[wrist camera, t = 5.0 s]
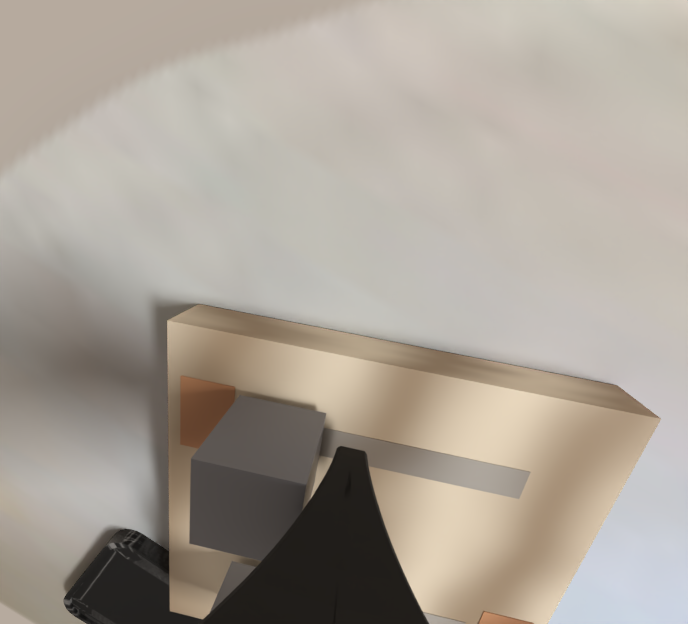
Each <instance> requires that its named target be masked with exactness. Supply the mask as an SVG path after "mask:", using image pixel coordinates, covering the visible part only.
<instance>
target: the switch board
mask: <svg viewBox="0 0 688 624" xmlns="http://www.w3.org/2000/svg"><path fill="white" fill-rule="evenodd" d="M167 358H168V470H169V581H170V611H172V612H176V613H180V614H184V615H188V616H192V617H195V618H199V619H204V618H205V617H206V616H207V615H208V614H209V613H210V611H211V608H212V606H213V604H214V601H215V599H216V597H217V594H218V592H219V590H220V588H221V585H222V583H223V581H224V578H225V576H226V574H227V571H228V569H229V567H230V564H231V562H232V561H234V562H238V563H242V564H246V565H250V566H254V567H257V566H258V565H259V563H260V562H261V561H260V560H256V559H251V558H247V557H243V556H239V555H235V554H231V553H226V552H222V551H218V550H214V549H210V548H206V547H201V546H197V545H193V544H189V531H190V474H191V458H192V456H193V455H194V454H195V453H196V451H197V450H198V449H199V447H200V446H201V445H202V443H203V442H204V441H205V440H206V438H207V437H208V436H209V434H210V433H211V432H212V430H213V429H214V428H215V427H216V425H217V424H218V423H219V421H220V420H221V419H222V417H223V416H224V415H225V414H226V412H227V411H228V410H229V408H230V407H231V406H232V404H233V403H234V402H235V400H236V399H237V398H238V397H239V395H243V396H247V397H252V398H257V399H262V400H266V401H271V402H276V403H281V404H285V405H290V406H295V407H300V408H304V409H309V410H314V411H319V412H323V413H326V419H325V424H324V430H323V436H322V442H321V448H320V454H319V459H318V465H317V471H316V477H315V483H314V487H313V491H312V495H311V498H312V496H313V495H314V493H315V491H316V490H317V488H318V486H319V485H320V483H321V481H322V480H323V478H324V476H325V474H326V472H327V471H328V469H329V467H330V465H331V463H332V460H333V458H334V455H335V452H336V449H337V448H338V447H339V446H344V447H349V448H353V449H358V450H362V451H365V452H366V454H367V459H368V466H369V471H370V476H371V480H372V484H373V488H374V492H375V495H376V499H377V502H378V505H379V508H380V512H381V515H382V518H383V521H384V524H385V527H386V529H387V532H388V535H389V538H390V540H391V543H392V546H393V548H394V551H395V553H396V555H397V558H398V560H399V563H400V565H401V567H402V569H403V572H404V574H405V576H406V578H407V581H408V583H409V585H410V587H411V589H412V591H413V593H414V595H415V597H416V599H417V601H418V604H419V606H420V608H421V609H422V611H423V613H424V615H425V617H426V619H427V621H428V622H429V624H548V622H549V620H550V618H551V617H552V615H553V613H554V611H555V609H556V608H557V606H558V604H559V602H560V600H561V599H562V597H563V595H564V593H565V591H566V590H567V588H568V586H569V584H570V582H571V581H572V579H573V577H574V575H575V573H576V572H577V570H578V568H579V566H580V564H581V562H582V561H583V559H584V557H585V555H586V553H587V552H588V550H589V548H590V546H591V544H592V543H593V541H594V539H595V537H596V535H597V534H598V532H599V530H600V528H601V526H602V525H603V523H604V521H605V519H606V517H607V516H608V514H609V512H610V510H611V508H612V507H613V505H614V503H615V501H616V499H617V498H618V496H619V494H620V492H621V490H622V489H623V487H624V485H625V483H626V481H627V479H628V478H629V476H630V474H631V472H632V470H633V469H634V467H635V465H636V463H637V461H638V460H639V458H640V456H641V454H642V452H643V451H644V449H645V447H646V445H647V443H648V442H649V440H650V438H651V436H652V434H653V433H654V431H655V429H656V427H657V425H658V424H659V422H660V420H661V418H659V417H658V416H657V415H655V414H654V413H653V412H651V411H650V410H649V409H647V408H646V407H645V406H643V405H642V404H641V403H640V402H638V401H637V400H636V399H634V398H633V397H632V396H630V395H629V394H628V393H626V392H625V391H624V390H623V389H621V388H620V387H619V386H617V385H611V384H606V383H601V382H596V381H591V380H586V379H581V378H576V377H570V376H565V375H560V374H555V373H550V372H545V371H540V370H535V369H529V368H524V367H519V366H514V365H509V364H504V363H499V362H494V361H488V360H483V359H478V358H473V357H468V356H463V355H458V354H453V353H447V352H442V351H437V350H432V349H427V348H422V347H417V346H412V345H406V344H401V343H396V342H391V341H386V340H381V339H376V338H371V337H365V336H360V335H355V334H350V333H345V332H340V331H335V330H330V329H324V328H319V327H314V326H309V325H304V324H299V323H294V322H289V321H283V320H278V319H273V318H268V317H263V316H258V315H253V314H248V313H242V312H237V311H232V310H227V309H222V308H217V307H212V306H207V305H201V304H198V305H196V306H194V307H192V308H190V309H188V310H186V311H184V312H182V313H180V314H179V315H177V316H175V317H173V318H171V319H169V320H167Z"/></svg>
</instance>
